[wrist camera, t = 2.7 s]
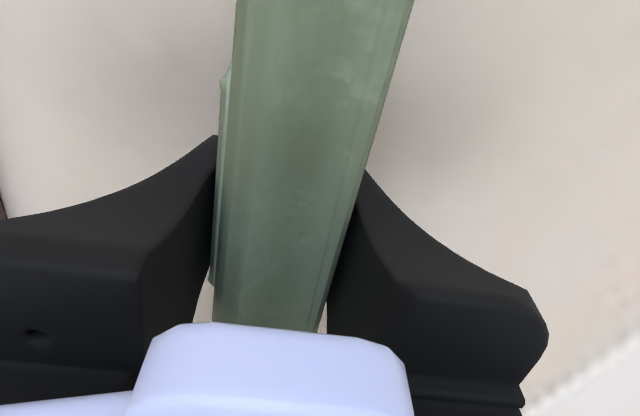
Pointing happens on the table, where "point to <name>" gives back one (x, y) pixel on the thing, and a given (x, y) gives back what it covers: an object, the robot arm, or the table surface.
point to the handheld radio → (295, 150)
